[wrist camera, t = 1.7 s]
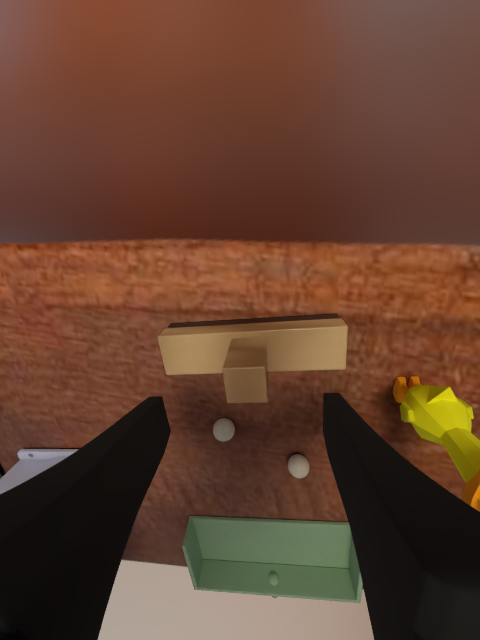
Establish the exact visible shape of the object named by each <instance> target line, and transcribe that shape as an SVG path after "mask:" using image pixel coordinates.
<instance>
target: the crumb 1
mask: <svg viewBox="0 0 480 640" xmlns="http://www.w3.org/2000/svg"><path fill="white" fill-rule="evenodd" d="M234 432H235V427H234V424H233V423H232V421H231V420H229V419H227V418H221V419H219V420H218V421H216V423H215V424H214V427H213V434H214V436H215V438H216V439H217V440H219V441H222V442H225V441H228V440H230V439H231V438H232V437H233V435H234Z"/></svg>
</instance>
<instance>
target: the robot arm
mask: <svg viewBox="0 0 480 640" xmlns="http://www.w3.org/2000/svg"><path fill="white" fill-rule="evenodd" d="M170 432H171V430H170V426H169V422H168V419H167V415H166V411H165V407H164V403H163V399H162V397H148V398H147V399H146V400H144V401H143V402H142V403H140V404H139V405H138V406H136V407H135V408H134V409H133V410H131V411H130V412H129V413H128V414H126V415H125V416H124V417H122V418H121V419H120V420H119V421H117V422H116V423H115V424H113V425H112V426H111V427H110V428H108V429H107V430H106V431H104V432H103V433H101V434H100V435H99V436H97V437H96V438H95V439H93V440H92V441H90V442H89V443H88V444H86V445H85V446H83V447H82V448H80V449H21V450H20V451H19V452H18V457H19V458H20V460H19V461H18V462H17V463H16V464H15V465H14V466H13V467H12V468H11V469H10V470H9V471H8V472H7V473H6V474H5V475H4V476H3V477H2V478H1V479H0V640H97V639H98V636H99V632H100V629H101V625H102V621H103V617H104V614H105V611H106V607H107V604H108V600H109V597H110V594H111V591H112V587H113V584H114V581H115V577H116V574H117V571H118V568H119V565H120V562H121V559H122V556H123V553H124V550H125V547H126V544H127V541H128V538H129V535H130V532H131V529H132V527H133V524H134V521H135V518H136V516H137V513H138V511H139V508H140V506H141V504H142V501H143V499H144V497H145V495H146V493H147V490H148V488H149V486H150V484H151V481H152V479H153V477H154V475H155V473H156V470H157V468H158V466H159V464H160V461H161V459H162V457H163V455H164V452H165V449H166V446H167V442H168V439H169V436H170ZM323 433H324V438H325V444H326V449H327V453H328V457H329V460H330V464H331V467H332V470H333V473H334V476H335V480H336V483H337V486H338V489H339V492H340V495H341V499H342V502H343V505H344V508H345V511H346V514H347V518H348V522H349V525H350V529H351V534H352V538H353V542H354V547H355V551H356V555H357V560H358V564H359V569H360V574H361V578H362V583H363V587H364V592H365V597H366V601H367V606H368V611H369V616H370V621H371V625H372V630H373V635H374V640H480V512H479V511H478V510H476V509H475V508H473V507H471V506H470V505H468V504H467V503H465V502H464V501H462V500H461V499H459V498H458V497H456V496H455V495H453V494H452V493H450V492H449V491H448V490H446V489H445V488H443V487H442V486H441V485H439V484H438V483H436V482H435V481H433V480H432V479H431V478H429V477H428V476H427V475H425V474H424V473H423V472H421V471H420V470H419V469H417V468H416V467H415V466H414V465H412V464H411V463H410V462H409V461H407V460H406V459H405V458H404V457H402V456H401V455H400V454H399V453H398V452H397V451H395V450H394V449H393V448H392V447H391V446H390V445H389V444H388V443H387V442H386V441H384V440H383V439H382V438H381V437H380V436H379V435H378V434H377V433H376V432H375V431H374V430H373V429H372V428H371V427H370V426H369V425H368V424H367V423H366V422H365V421H364V420H363V419H362V418H361V417H360V416H359V415H358V414H357V412H356V411H355V410H354V409H353V408H352V407H351V406H350V405H349V404H348V402H347V401H346V400H345V399H344V398H343V397H342V396H341V395H340V394H339V393H324V403H323Z"/></svg>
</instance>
